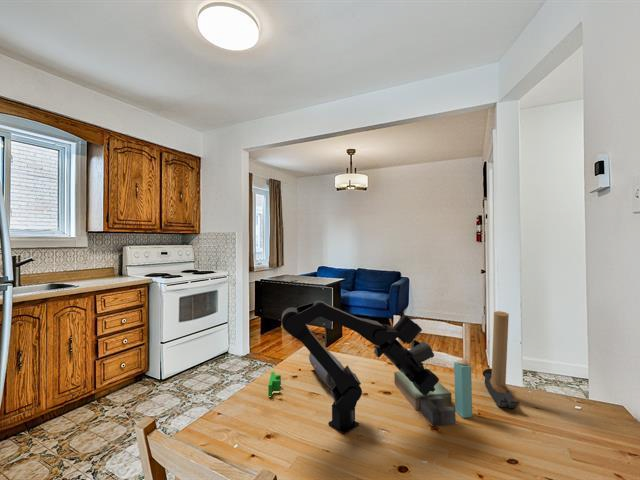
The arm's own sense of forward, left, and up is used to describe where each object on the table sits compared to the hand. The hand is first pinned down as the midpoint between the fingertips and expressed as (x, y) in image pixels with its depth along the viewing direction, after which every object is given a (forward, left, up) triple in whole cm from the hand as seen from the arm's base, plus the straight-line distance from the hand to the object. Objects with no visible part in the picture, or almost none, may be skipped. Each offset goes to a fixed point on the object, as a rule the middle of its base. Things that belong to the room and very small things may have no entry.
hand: (433, 390), depth 91 cm
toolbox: (+7, +6, -8) cm, 12 cm away
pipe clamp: (-25, +48, -8) cm, 55 cm away
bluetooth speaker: (-6, +41, -8) cm, 42 cm away
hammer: (+27, -9, -8) cm, 30 cm away
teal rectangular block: (+8, -5, -8) cm, 12 cm away
